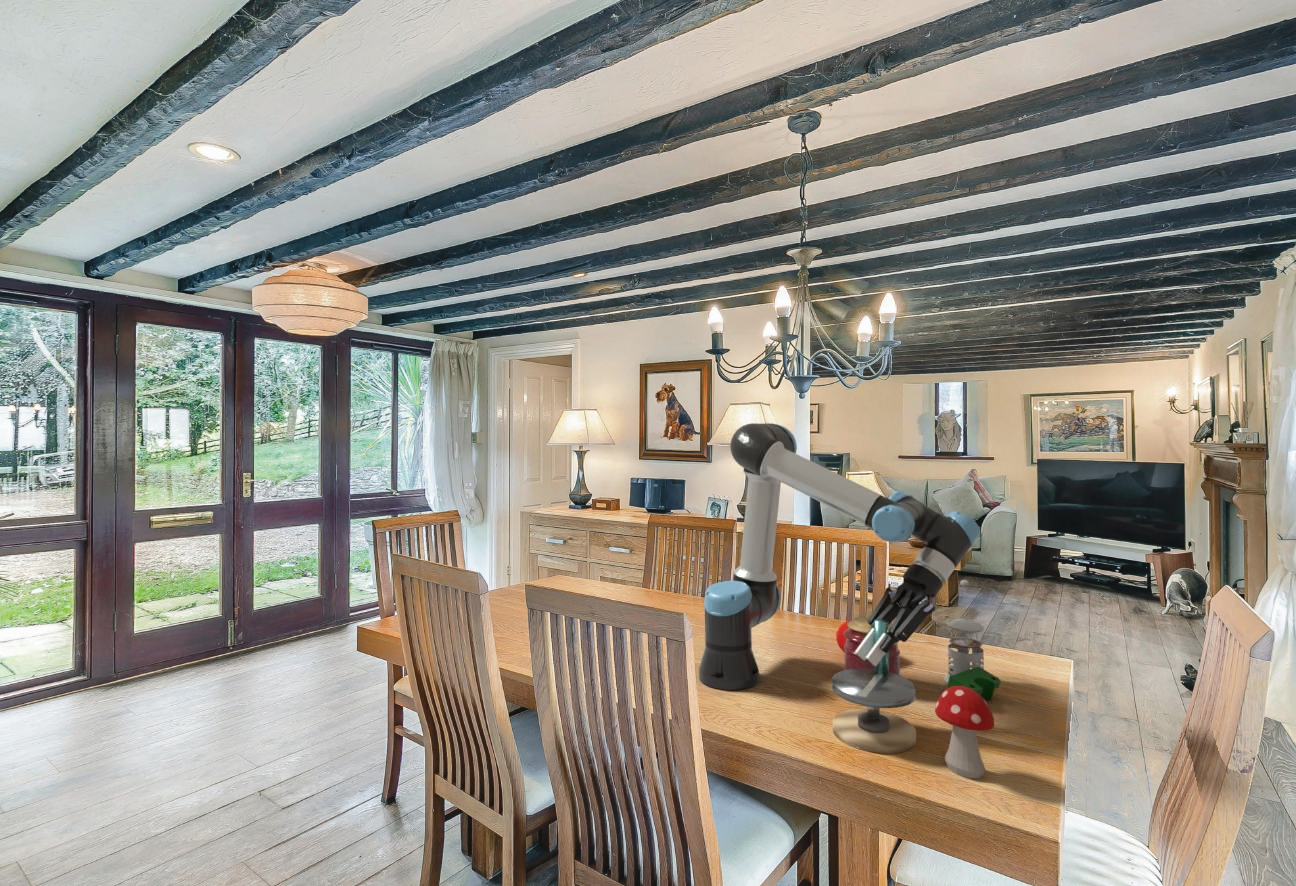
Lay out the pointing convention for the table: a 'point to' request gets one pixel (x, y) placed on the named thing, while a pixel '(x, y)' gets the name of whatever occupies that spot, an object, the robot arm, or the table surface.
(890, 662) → the canister
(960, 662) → the french press
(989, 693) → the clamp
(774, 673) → the table surface
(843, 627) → the tomato
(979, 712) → the decorative mushroom
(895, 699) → the crank wheel
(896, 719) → the cylinder
